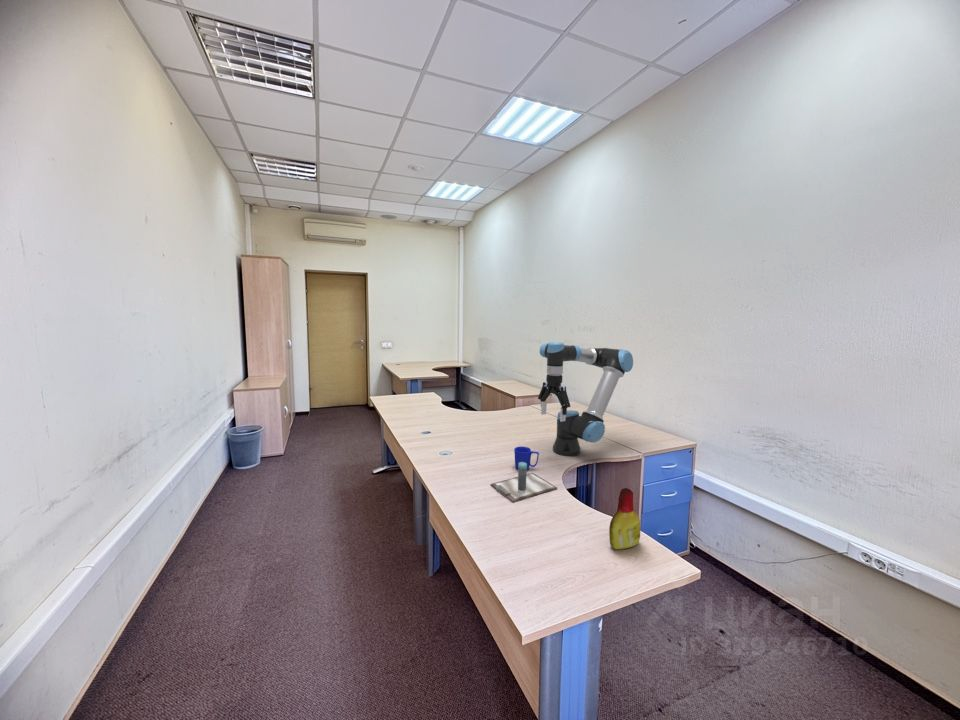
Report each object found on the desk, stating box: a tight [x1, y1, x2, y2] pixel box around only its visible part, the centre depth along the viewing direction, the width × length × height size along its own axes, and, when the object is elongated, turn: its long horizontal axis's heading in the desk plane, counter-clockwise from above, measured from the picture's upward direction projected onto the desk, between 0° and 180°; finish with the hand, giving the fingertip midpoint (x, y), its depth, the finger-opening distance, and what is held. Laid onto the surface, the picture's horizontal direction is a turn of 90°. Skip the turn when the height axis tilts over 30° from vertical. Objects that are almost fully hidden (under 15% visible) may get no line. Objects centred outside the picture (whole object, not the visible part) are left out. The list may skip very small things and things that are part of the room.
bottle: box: [608, 487, 641, 550], centre depth 119 cm, size 12×6×20 cm, turn 111°
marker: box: [517, 462, 528, 493], centre depth 154 cm, size 4×4×12 cm
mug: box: [513, 446, 540, 470], centre depth 179 cm, size 8×12×10 cm
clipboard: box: [489, 472, 558, 504], centre depth 160 cm, size 24×17×2 cm
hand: (552, 417), depth 175 cm, fingers open, 13 cm apart
